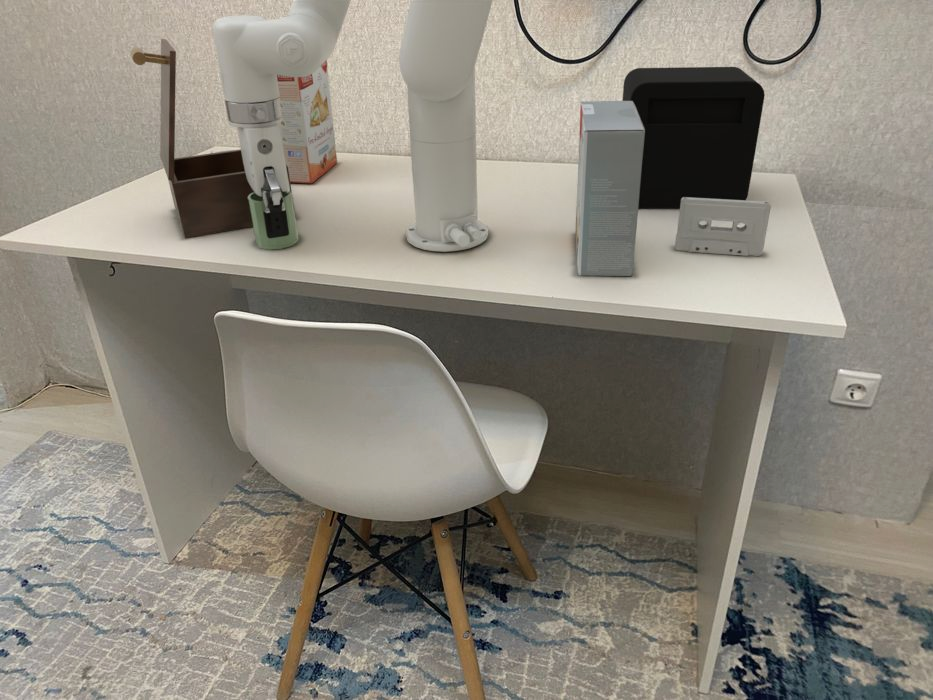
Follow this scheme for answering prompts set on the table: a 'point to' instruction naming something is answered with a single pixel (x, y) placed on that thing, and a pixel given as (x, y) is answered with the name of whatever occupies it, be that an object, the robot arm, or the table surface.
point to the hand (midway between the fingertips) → (271, 225)
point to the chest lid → (164, 99)
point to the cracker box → (307, 125)
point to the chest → (212, 193)
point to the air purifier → (695, 132)
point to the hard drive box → (608, 187)
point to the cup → (259, 223)
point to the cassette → (722, 238)
